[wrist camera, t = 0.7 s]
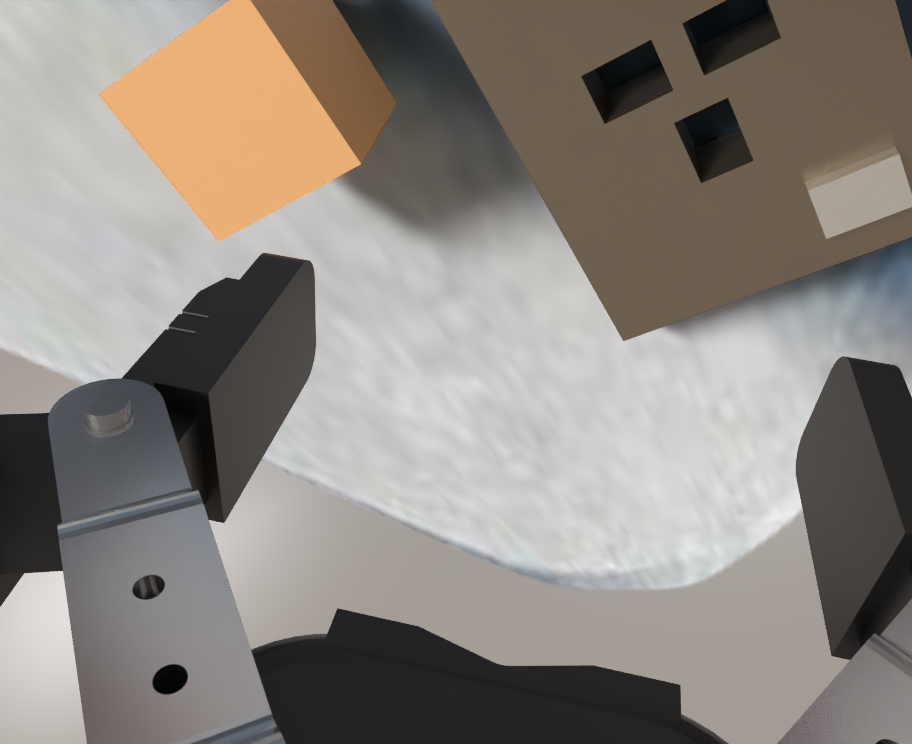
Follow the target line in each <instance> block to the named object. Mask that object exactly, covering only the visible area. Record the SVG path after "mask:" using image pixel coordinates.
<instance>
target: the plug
mask: <svg viewBox="0 0 912 744" xmlns="http://www.w3.org/2000/svg"><path fill="white" fill-rule="evenodd" d="M98 95H99V96H100V97H101V98H102V99H103V101H104V102H105V103H106V104H107V106H108V107H109V108H110V109H111V110H112V112H113V113H114V114H115V115H116V117H117V118H118V119H119V120H120V121H121V123H122V124H123V125H124V126H125V128H126V129H127V130H128V131H129V132H130V134H131V135H132V136H133V137H134V139H135V140H136V141H137V142H138V144H139V145H140V146H141V147H142V148H143V150H144V151H145V152H146V153H147V155H148V156H149V157H150V158H151V159H152V161H153V162H154V163H155V164H156V166H157V167H158V168H159V169H160V170H161V172H162V173H163V174H164V175H165V177H166V178H167V179H168V180H169V181H170V183H171V184H172V185H173V186H174V188H175V189H176V190H177V191H178V192H179V194H180V195H181V196H182V197H183V199H184V200H185V201H186V202H187V204H188V205H189V206H190V207H191V208H192V210H193V211H194V212H195V213H196V215H197V216H198V217H199V218H200V219H201V221H202V222H203V223H204V224H205V226H206V227H207V228H208V229H209V230H210V232H211V233H212V234H213V235H214V237H215V238H216V239H217V240H218V241H220V240H222V239H224V238H226V237H228V236H229V235H231V234H233V233H235V232H237V231H239V230H241V229H242V228H244V227H246V226H248V225H250V224H252V223H253V222H255V221H257V220H259V219H261V218H263V217H265V216H266V215H268V214H270V213H272V212H274V211H276V210H278V209H279V208H281V207H283V206H285V205H287V204H289V203H290V202H292V201H294V200H296V199H298V198H300V197H302V196H303V195H305V194H307V193H309V192H311V191H313V190H315V189H316V188H318V187H320V186H322V185H324V184H326V183H327V182H329V181H331V180H333V179H335V178H337V177H339V176H340V175H342V174H344V173H346V172H348V171H350V170H352V169H353V168H355V167H357V166H359V165H361V164H362V162H363V161H364V159H365V157H366V155H367V154H368V152H369V150H370V149H371V147H372V145H373V144H374V142H375V140H376V139H377V137H378V135H379V133H380V132H381V130H382V128H383V127H384V125H385V123H386V122H387V120H388V118H389V117H390V115H391V113H392V111H393V110H394V108H395V106H396V105H397V103H396V101H395V99H394V98H393V96H392V95H391V93H390V91H389V90H388V88H387V87H386V85H385V83H384V82H383V80H382V79H381V77H380V75H379V74H378V72H377V71H376V69H375V67H374V66H373V64H372V63H371V61H370V59H369V58H368V56H367V55H366V53H365V52H364V50H363V48H362V47H361V45H360V44H359V42H358V40H357V39H356V37H355V36H354V34H353V32H352V31H351V29H350V28H349V26H348V24H347V23H346V21H345V20H344V18H343V16H342V15H341V13H340V12H339V10H338V8H337V7H336V5H335V4H334V2H333V0H229V1H227V2H226V3H224V4H223V5H222V6H220V7H219V8H217V9H216V10H215V11H213V12H212V13H210V14H209V15H208V16H206V17H205V18H203V19H202V20H201V21H199V22H198V23H196V24H195V25H193V26H192V27H191V28H189V29H188V30H186V31H185V32H184V33H182V34H181V35H179V36H178V37H177V38H175V39H174V40H172V41H171V42H170V43H168V44H167V45H165V46H164V47H163V48H161V49H160V50H158V51H157V52H156V53H154V54H153V55H152V56H150V57H149V58H147V59H146V60H145V61H143V62H142V63H140V64H139V65H138V66H136V67H135V68H133V69H132V70H131V71H129V72H128V73H127V74H125V75H124V76H122V77H121V78H120V79H118V80H117V81H115V82H114V83H113V84H111V85H110V86H108V87H107V88H106V89H104V90H103V91H101V92H100V93H99V94H98Z"/></svg>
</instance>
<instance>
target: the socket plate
mask: <svg viewBox="0 0 912 744" xmlns="http://www.w3.org/2000/svg"><path fill="white" fill-rule="evenodd" d="M430 1H431V3H432V4H433V6H434V8H435V10H436V11H437V13H438V15H439V17H440V18H441V20H442V22H443V24H444V25H445V27H446V29H447V31H448V33H449V34H450V36H451V38H452V40H453V41H454V43H455V45H456V47H457V48H458V50H459V52H460V54H461V55H462V57H463V59H464V61H465V62H466V64H467V66H468V68H469V70H470V71H471V73H472V75H473V77H474V78H475V80H476V82H477V84H478V85H479V87H480V89H481V91H482V92H483V94H484V96H485V98H486V100H487V101H488V103H489V105H490V107H491V108H492V110H493V112H494V114H495V115H496V117H497V119H498V121H499V122H500V124H501V126H502V128H503V130H504V131H505V133H506V135H507V137H508V138H509V140H510V142H511V144H512V145H513V147H514V149H515V151H516V152H517V154H518V156H519V158H520V159H521V161H522V163H523V165H524V167H525V168H526V170H527V172H528V174H529V175H530V177H531V179H532V181H533V182H534V184H535V186H536V188H537V189H538V191H539V193H540V195H541V197H542V198H543V200H544V202H545V204H546V205H547V207H548V209H549V211H550V212H551V214H552V216H553V218H554V219H555V221H556V223H557V225H558V227H559V228H560V230H561V232H562V234H563V235H564V237H565V239H566V241H567V242H568V244H569V246H570V248H571V249H572V251H573V253H574V255H575V256H576V258H577V260H578V262H579V264H580V265H581V267H582V269H583V271H584V272H585V274H586V276H587V278H588V279H589V281H590V283H591V285H592V286H593V288H594V290H595V292H596V294H597V295H598V297H599V299H600V301H601V302H602V304H603V306H604V308H605V309H606V311H607V313H608V315H609V316H610V318H611V320H612V322H613V324H614V325H615V327H616V329H617V331H618V332H619V334H620V336H621V338H622V339H623V341H625V340H628V339H631V338H633V337H636V336H639V335H642V334H645V333H647V332H650V331H653V330H656V329H658V328H661V327H664V326H667V325H669V324H672V323H675V322H678V321H681V320H683V319H686V318H689V317H692V316H694V315H697V314H700V313H703V312H705V311H708V310H711V309H714V308H717V307H719V306H722V305H725V304H728V303H730V302H733V301H736V300H739V299H741V298H744V297H747V296H750V295H753V294H755V293H758V292H761V291H764V290H766V289H769V288H772V287H775V286H778V285H780V284H783V283H786V282H789V281H791V280H794V279H797V278H800V277H802V276H805V275H808V274H811V273H814V272H816V271H819V270H822V269H825V268H827V267H830V266H833V265H836V264H838V263H841V262H844V261H847V260H850V259H852V258H855V257H858V256H861V255H863V254H866V253H869V252H872V251H874V250H877V249H880V248H883V247H886V246H888V245H891V244H894V243H897V242H899V241H902V240H905V239H908V238H910V237H912V58H911V54H910V51H909V47H908V44H907V40H906V37H905V33H904V30H903V26H902V23H901V19H900V16H899V12H898V9H897V5H896V1H895V0H765V3H766V6H767V9H768V11H766V12H764V13H762V14H760V15H758V16H756V17H754V18H752V19H750V20H748V21H746V22H744V23H742V24H740V25H739V26H737V27H735V28H733V29H731V30H729V31H727V32H725V33H723V34H721V35H719V36H717V37H715V38H713V39H711V40H709V41H707V42H705V43H703V44H701V45H699V46H698V45H697V43H696V40H695V38H694V36H693V33H692V31H691V28H690V26H689V24H688V20H690V19H691V18H693V17H695V16H697V15H699V14H701V13H703V12H705V11H707V10H709V9H711V8H713V7H714V6H716V5H718V4H720V3H722V2H724V1H726V0H430ZM649 40H652V43H653V45H654V47H655V49H656V52H657V54H658V56H659V58H660V61H661V63H662V64H661V65H659V66H657V67H656V68H654V69H652V70H650V71H648V72H646V73H644V74H642V75H640V76H638V77H636V78H634V79H632V80H630V81H628V82H626V83H624V84H622V85H620V86H618V87H616V88H614V89H612V90H610V91H608V92H606V90H605V88H604V86H603V84H602V82H601V80H600V78H599V76H598V74H597V72H596V68H598V67H600V66H602V65H603V64H605V63H607V62H609V61H611V60H613V59H615V58H617V57H619V56H621V55H623V54H625V53H626V52H628V51H630V50H632V49H634V48H636V47H638V46H640V45H642V44H644V43H646V42H647V41H649ZM726 98H728V99H729V102H730V104H731V106H732V109H733V111H734V114H735V116H736V119H737V121H738V124H739V126H740V128H738V129H736V130H734V131H732V132H729V133H727V134H725V135H723V136H720V137H718V138H716V139H714V140H712V141H709V142H707V143H705V144H703V145H701V146H698V147H695V145H694V143H693V141H692V138H691V136H690V134H689V132H688V129H687V127H686V125H685V123H684V120H683V118H686V117H688V116H690V115H692V114H694V113H696V112H698V111H700V110H703V109H705V108H707V107H709V106H711V105H713V104H715V103H717V102H720V101H722V100H724V99H726Z"/></svg>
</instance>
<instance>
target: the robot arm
mask: <svg viewBox="0 0 912 744" xmlns="http://www.w3.org/2000/svg"><path fill="white" fill-rule="evenodd" d="M315 349H316V325H315V277H314V268H313V265H312V263H311V262H310V261H308V260H302V259H297V258H291V257H285V256H280V255H274V254H268V253H263V254H261V255H260V256H259V257H258V258H257V260H256V261H255V262H254V263H253V264H252V266H251V267H250V268H249V269H248V270H247V271H246V273H245V274H244V275H243V276H242V277H241V279H240V280H237V279H232V278H225V279H223V280H221V281H219V282H217V283H215V284H213V285H211V286H209V287H207V288H205V289H203V290H201V291H200V292H198V294H197V295H196V296H195V297H194V298H193V299H192V300H191V301H190V303H189V304H188V305H187V306H186V307H185V308H184V309H183V312H182V314H179V315H178V316H177V317H176V318H175V319H174V320H173V322H172V323H171V324H170V325H169V329H168V330H166V329H165V330H164V332H163V333H162V334H161V335H160V336H159V337H158V338H157V339H156V341H155V342H154V343H153V344H152V345H151V346H150V347H149V348H148V349H147V351H146V352H145V353H144V354H143V355H142V356H141V357H140V358H139V360H138V361H137V362H136V363H135V364H134V365H133V366H132V367H131V368H130V370H129V371H128V372H127V373H126V374H125V375H124V376H123V377H122V379H107V380H100V381H96V382H92V383H88V384H86V385H83V386H80V387H78V388H76V389H74V390H72V391H70V392H69V393H67V394H65V395H64V396H63V397H62V398H60V399H59V400H58V401H57V402H56V403H55V405H54V406H53V408H52V409H51V411H50V413H41V414H40V413H39V414H5V415H0V606H1V605H2V604H3V602H4V601H5V599H6V598H7V597H8V595H9V594H10V592H11V591H12V590H13V588H14V587H15V585H16V584H17V582H18V581H19V580H20V578H21V577H22V576H23V574H24V573H34V572H49V571H63V573H64V581H65V588H66V595H67V602H68V610H69V617H70V624H71V631H72V638H73V645H74V652H75V660H76V667H77V674H78V682H79V689H80V696H81V703H82V710H83V718H84V724H85V732H86V739H87V744H728V743H727V742H726V741H724V740H723V739H722V738H720V737H719V736H718V735H716V734H715V733H714V732H712V731H710V730H709V729H707V728H705V727H704V726H702V725H701V724H699V723H697V722H696V721H694V720H692V719H690V718H688V717H686V716H684V715H682V714H681V694H680V685H678V684H674V683H669V682H665V681H660V680H656V679H651V678H647V677H642V676H638V675H633V674H629V673H624V672H620V671H615V670H611V669H606V668H602V667H597V666H504V665H499V664H496V663H493V662H491V661H489V660H487V659H485V658H483V657H481V656H479V655H477V654H475V653H473V652H470V651H469V650H466V649H464V648H462V647H460V646H458V645H456V644H454V643H452V642H450V641H448V640H446V639H444V638H441V637H439V636H437V635H435V634H433V633H431V632H429V631H427V630H425V629H423V628H421V627H418V626H414V625H409V624H405V623H400V622H396V621H391V620H387V619H382V618H378V617H373V616H369V615H365V614H360V613H356V612H351V611H347V610H342V609H337V611H336V614H335V616H334V619H333V621H332V624H331V626H330V629H329V631H328V634H312V635H303V636H295V637H291V638H287V639H282V640H278V641H274V642H272V643H269V644H266V645H263V646H260V647H257V648H254V649H252V650H251V648H250V645H249V642H248V639H247V636H246V633H245V630H244V627H243V624H242V621H241V618H240V615H239V612H238V609H237V606H236V602H235V599H234V596H233V594H232V590H231V587H230V584H229V581H228V578H227V575H226V572H225V569H224V566H223V562H222V560H221V557H220V554H219V551H218V547H217V544H216V541H215V538H214V535H213V532H212V529H211V526H210V523H209V520H213V521H217V522H222V523H224V522H225V521H226V519H227V517H228V516H229V514H230V512H231V510H232V509H233V507H234V505H235V503H236V502H237V500H238V498H239V497H240V495H241V493H242V492H243V490H244V488H245V486H246V485H247V483H248V481H249V479H250V478H251V476H252V474H253V473H254V471H255V469H256V468H257V466H258V464H259V462H260V461H261V459H262V457H263V456H264V454H265V452H266V450H267V449H268V447H269V445H270V444H271V442H272V440H273V438H274V437H275V435H276V433H277V432H278V430H279V428H280V426H281V425H282V423H283V421H284V420H285V418H286V416H287V414H288V413H289V411H290V409H291V408H292V406H293V404H294V402H295V401H296V399H297V397H298V396H299V394H300V392H301V390H302V389H303V387H304V385H305V384H306V382H307V380H308V378H309V375H310V373H311V370H312V366H313V362H314V357H315ZM796 477H797V483H798V488H799V493H800V498H801V503H802V508H803V513H804V518H805V523H806V528H807V533H808V538H809V544H810V549H811V554H812V558H813V564H814V569H815V574H816V579H817V583H818V589H819V594H820V600H821V605H822V610H823V615H824V619H825V625H826V630H827V635H828V640H829V645H830V650H831V655H832V656H835V657H839V658H843V659H848V660H850V661H849V662H848V664H847V665H846V666H845V667H844V668H843V669H842V670H841V672H840V673H839V674H838V675H837V676H836V677H835V678H834V680H833V681H832V682H831V683H830V684H829V685H828V687H826V689H825V690H824V691H823V692H822V693H821V694H820V695H819V697H818V698H817V699H816V700H815V702H813V703H812V705H811V706H810V707H809V708H808V709H807V710H806V712H805V713H804V714H803V715H802V716H801V717H800V719H799V720H798V721H797V722H796V723H795V724H794V725H793V726H792V728H791V729H790V730H789V731H788V732H787V733H786V734H785V736H784V737H783V738H782V739H781V740H780V741H779V742H778V744H912V397H911V395H910V392H909V390H908V387H907V385H906V383H905V380H904V378H903V375H902V373H901V371H900V369H899V368H898V367H897V366H895V365H889V364H884V363H878V362H872V361H867V360H861V359H856V358H850V357H841V358H839V359H838V360H837V361H836V363H835V364H834V366H833V368H832V370H831V372H830V374H829V376H828V378H827V381H826V383H825V385H824V387H823V390H822V392H821V394H820V396H819V399H818V401H817V403H816V405H815V408H814V410H813V412H812V414H811V417H810V419H809V421H808V423H807V426H806V428H805V430H804V432H803V435H802V437H801V440H800V444H799V447H798V452H797V459H796Z"/></svg>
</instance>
